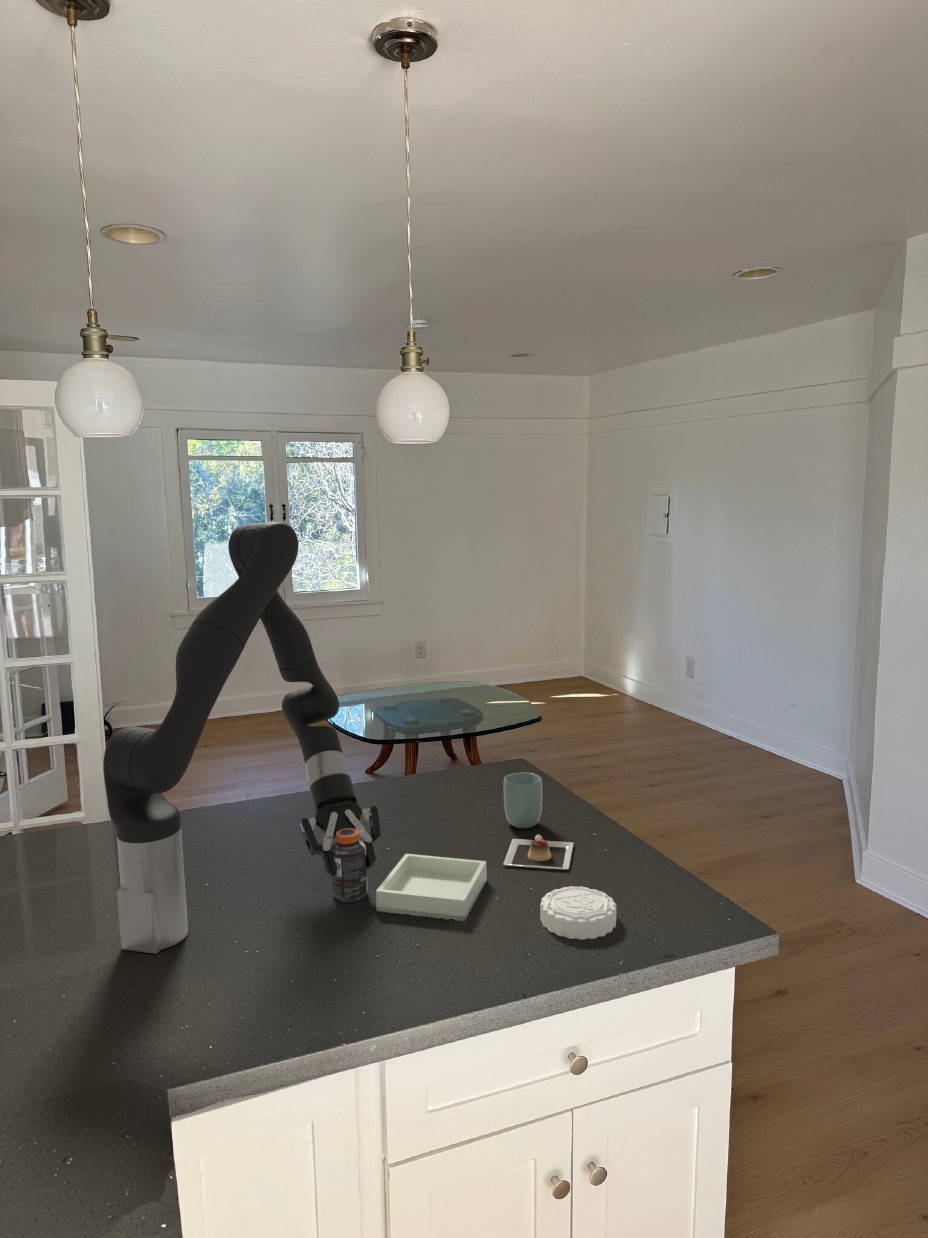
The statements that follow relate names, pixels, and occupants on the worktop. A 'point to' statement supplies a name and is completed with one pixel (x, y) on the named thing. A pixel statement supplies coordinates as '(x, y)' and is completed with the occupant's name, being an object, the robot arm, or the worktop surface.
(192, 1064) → the worktop surface
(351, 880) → the pill bottle
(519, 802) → the cup
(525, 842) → the dessert
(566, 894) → the mooncake
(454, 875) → the tray
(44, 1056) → the worktop surface
